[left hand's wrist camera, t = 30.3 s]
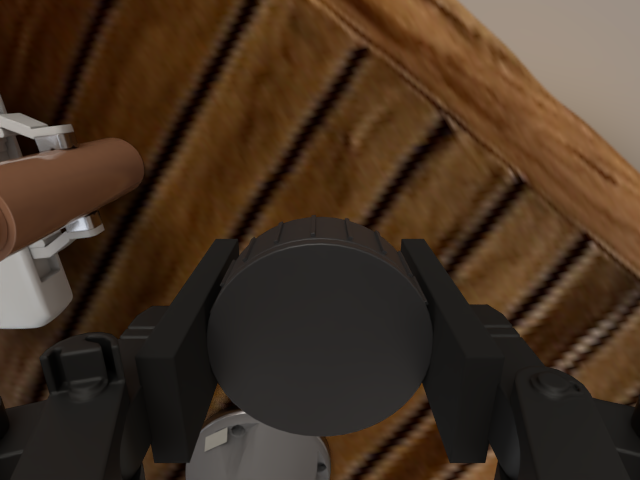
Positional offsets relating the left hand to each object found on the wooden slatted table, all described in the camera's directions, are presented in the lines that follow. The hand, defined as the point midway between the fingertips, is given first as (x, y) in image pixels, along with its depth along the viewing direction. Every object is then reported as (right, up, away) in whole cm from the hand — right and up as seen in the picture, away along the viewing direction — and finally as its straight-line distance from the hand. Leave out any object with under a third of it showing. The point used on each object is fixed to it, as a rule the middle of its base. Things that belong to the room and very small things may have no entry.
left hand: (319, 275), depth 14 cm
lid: (0, -1, -4) cm, 4 cm away
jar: (-17, +7, +20) cm, 27 cm away
